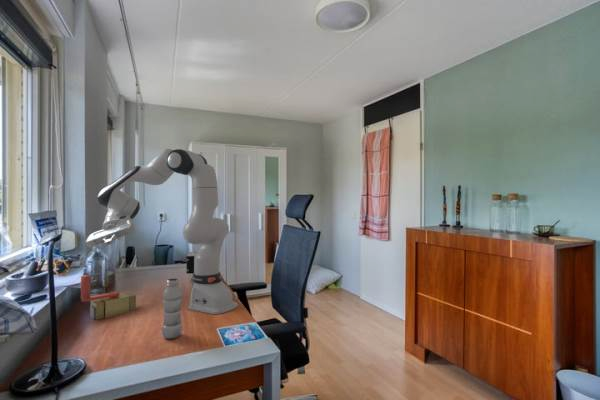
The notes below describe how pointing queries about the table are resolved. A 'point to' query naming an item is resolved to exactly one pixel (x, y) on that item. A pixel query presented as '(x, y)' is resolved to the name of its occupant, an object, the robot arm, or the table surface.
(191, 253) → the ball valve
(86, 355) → the table surface
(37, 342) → the table surface
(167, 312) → the plastic bottle
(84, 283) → the lever
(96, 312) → the olive yellow box
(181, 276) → the table surface
